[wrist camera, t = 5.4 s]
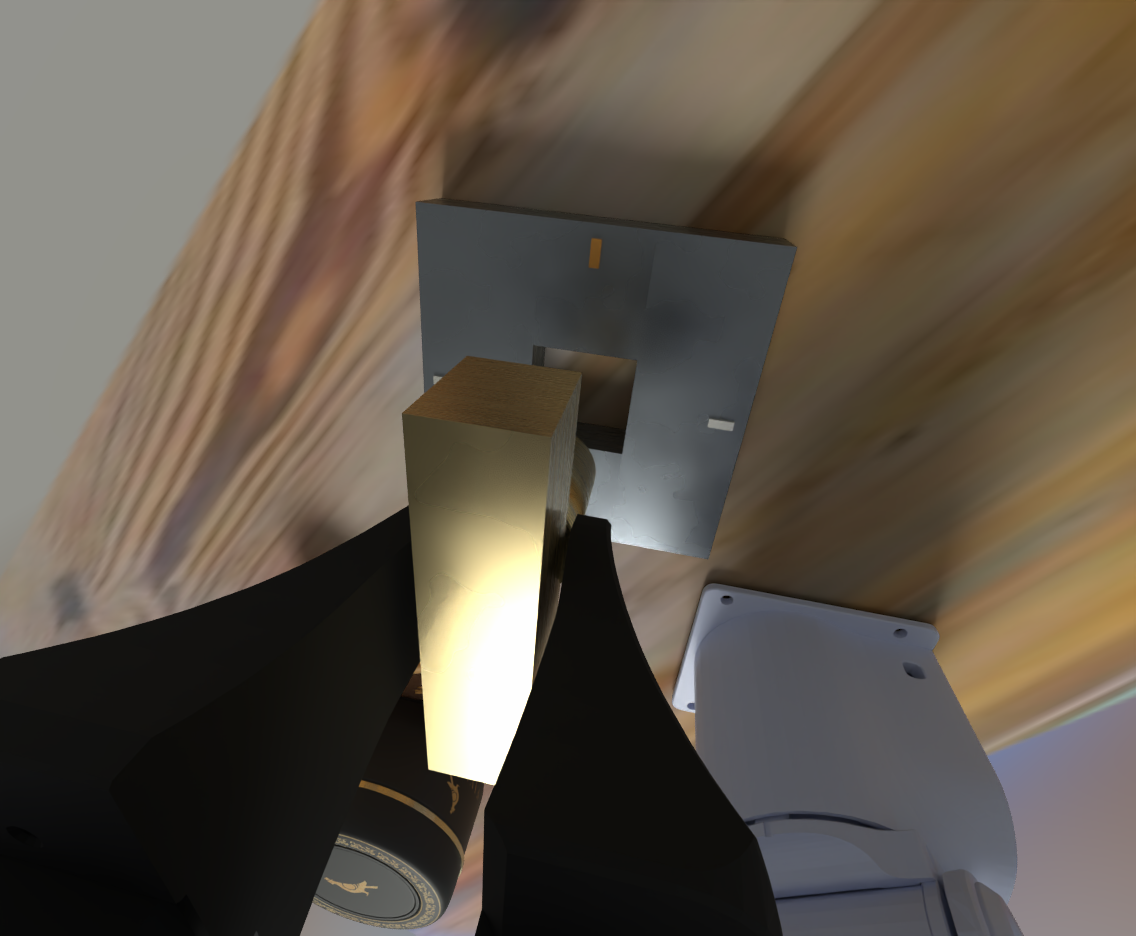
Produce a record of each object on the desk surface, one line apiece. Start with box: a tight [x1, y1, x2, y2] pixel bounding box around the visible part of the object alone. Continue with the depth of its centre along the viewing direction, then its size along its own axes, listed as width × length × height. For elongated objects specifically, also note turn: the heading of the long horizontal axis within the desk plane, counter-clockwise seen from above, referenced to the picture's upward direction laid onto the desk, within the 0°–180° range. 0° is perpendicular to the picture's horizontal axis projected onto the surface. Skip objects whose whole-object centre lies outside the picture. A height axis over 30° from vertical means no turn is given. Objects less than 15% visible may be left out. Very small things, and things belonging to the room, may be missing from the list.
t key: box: [402, 356, 596, 785], centre depth 12 cm, size 8×2×6 cm, turn 176°
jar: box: [312, 697, 484, 929], centre depth 30 cm, size 10×10×8 cm
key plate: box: [416, 198, 797, 559], centre depth 19 cm, size 11×11×2 cm
